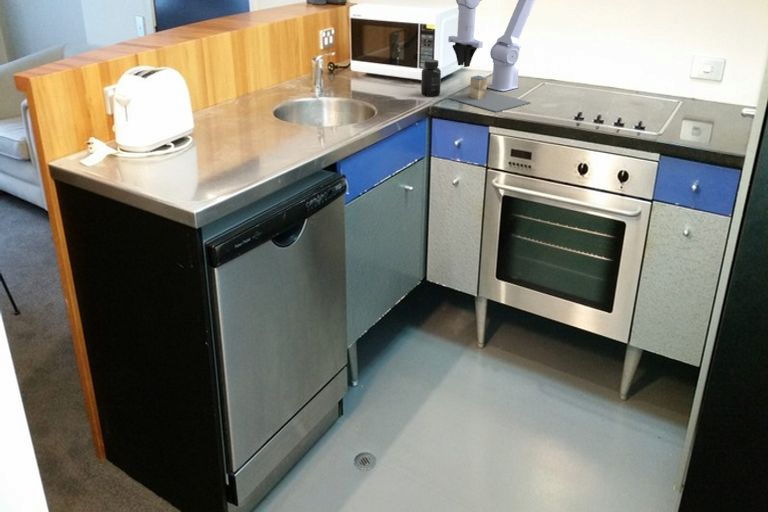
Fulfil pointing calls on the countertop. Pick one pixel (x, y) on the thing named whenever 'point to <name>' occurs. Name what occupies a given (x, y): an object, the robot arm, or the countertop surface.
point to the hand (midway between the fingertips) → (463, 65)
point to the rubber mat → (490, 101)
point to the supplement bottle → (431, 79)
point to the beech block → (478, 87)
